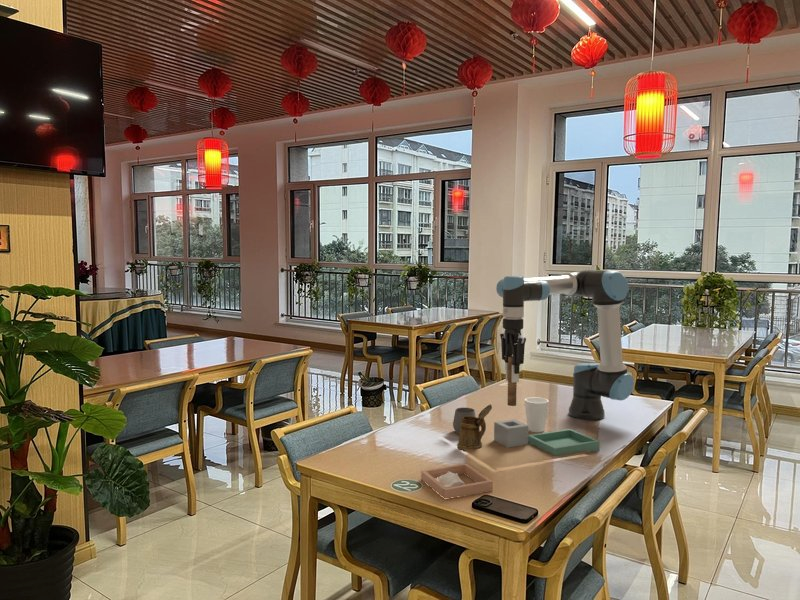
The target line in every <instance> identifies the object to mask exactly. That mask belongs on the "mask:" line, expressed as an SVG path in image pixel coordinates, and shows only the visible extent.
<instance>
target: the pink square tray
mask: <svg viewBox="0 0 800 600" xmlns="http://www.w3.org/2000/svg"><path fill="white" fill-rule="evenodd" d="M449 471H450V472H452V473H454V474H456V473H457V474H461V475H465V474H466V475H465V476H467V475H468V476H469V477H468V476H467V477H468V478H470V477H471V478H472V479H473V481H474V480H475V481H476V482H475V481H474V482H472V483H467V484H466V483H465V485H460V486H454V487H449V488H446V487H445V486H443V485H442V484H441V483H440V482H438V481H437V480H436V479H435V478H437V477H440V476H441V475H445V474H446V473H447V472H449ZM420 472H421V473H420V478H421V479H422V480H423V481H424V482H426V483H427V484H428V485H429V486H431V487H432V488H433V489H434V490H435V491H437V492H438V493H439V494H440V495H441V496H443V497H444V498H451V497H457V496H464V495H469V496H472V495H471V494H474V495H478V494H477V493H480V494H484V493H483V492H485V493H489V491H490V492H493V483H494V482H493V480H492V479H490V478H489V477H487V476H486V475H485V474H483V473H481V472H480V471H479V470H477V469H476V468H474V467H472V466H471V465H470V464H468V463H466V462H464V463H458V464H452V465H447V466H440V467H434V468H429V469H422V470H420ZM463 473H465V474H463ZM471 478H470V479H471ZM472 479H471V480H472ZM422 480H421V481H422ZM423 481H422V482H423ZM424 482H423V483H424ZM429 486H428V487H429ZM435 491H434V492H435ZM464 497H465V496H464ZM444 498H443V499H444Z"/></svg>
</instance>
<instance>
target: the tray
mask: <svg viewBox="0 0 800 600" xmlns="http://www.w3.org/2000/svg"><path fill="white" fill-rule="evenodd" d="M600 442H601V441H600V440H598V439H596V438H593V437H590V436H589V435H586V434H583V433H581V432H580V431H577V430H574V429H572V428H567V429H559V430H553V431H547V432H538V433H533V434H528V444H529V443H530V444H531V445H532V446H535V447H536V448H539V449H540V450H543V451H545V452H546V453H549V454H551V455H553V456H561V455H565V456H563V457H564V458H565V457H566V454H572V453H577V452H583V451H587V452H589V453H593V452H592V451H594V452H599V451H600V447H601V443H600Z"/></svg>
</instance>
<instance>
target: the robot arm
mask: <svg viewBox="0 0 800 600" xmlns="http://www.w3.org/2000/svg"><path fill="white" fill-rule="evenodd" d="M495 288H496V290H495V291H496V293H497V295H498V296H499V297H501V298H502V317H503V318H502V328H503V329H504V332H503V333H500V334H499V335H500V341H501V342H500V345H501V346H500V347H501V349H500V350H501V360H502V361H504V362H505V367H504V368H505V381H508V357H509V356H513V364H512V383H514V382H517V383H519V382H520V365H523V364H524V361H525V346H526V341H527V338H526V337H523V336H522V330H523V329H524V317H525V311H524V307H525V306H524V304H525V302H532V301H538V302H539V301H544V300H547V299H548V298H549V296H552V295H565V296H577V297H584V298H589V299H591V298H592V305H593V306H594V307H596V312H597V313H596V314H597V324H598V325H597V327H598V341H599V353H600V354H599V355H600V362H583V363H582V362H581V363H577V364H575V365H574V367H573V374H572V375H573V378H572V379H573V380H572V383H573V384H572V386H573V387H572V388H573V389H572V393H573V394H572V398H571V399H572V400H571V402H570V405H569V407H568V415H569V416H571V417H573V418H576V419H579V420H580V419H581V420H589V421H591V420H593V421H595V420H601V419H604V418H605V409H604V406H603V402H602V399H601V397H603V398H607V399H611V400H613V401H614V400H615V401H624V400H626V399H628V398H629V397H630V396H631V394H632V392H633V391H634V387H635V379H634V376H633V375H631V374H630V373H629V372H628V366H627V365H626V364H624V362H623V361H624V360H623V347H622V344H623V343H622V331H621V330H622V329H621V315H620V312H621V311H620V306H621V305H622V304H623V303H624V299H625V298H626V297H627V295H628V293H629V282H628V279H627V277H626V276H625V275H624V274H623V273H622V272H620V271H617V270H611V269H608V270H606V269H605V270H604V269H603V270H602V269H598V270H597V269H586V270H578V271H572V272H566V273H563V274H562V275H554V276H538V277H524V276H522V275H506V276H505V277H503V278H501V279H500V280H499V281H498V282H497V284H496V287H495Z"/></svg>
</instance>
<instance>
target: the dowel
mask: <svg viewBox="0 0 800 600" xmlns="http://www.w3.org/2000/svg"><path fill="white" fill-rule="evenodd" d="M512 364H513V355H512V356H509V357H508V380H507V406H510V407H515V406H517V383H518V382H514V383H512Z"/></svg>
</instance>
